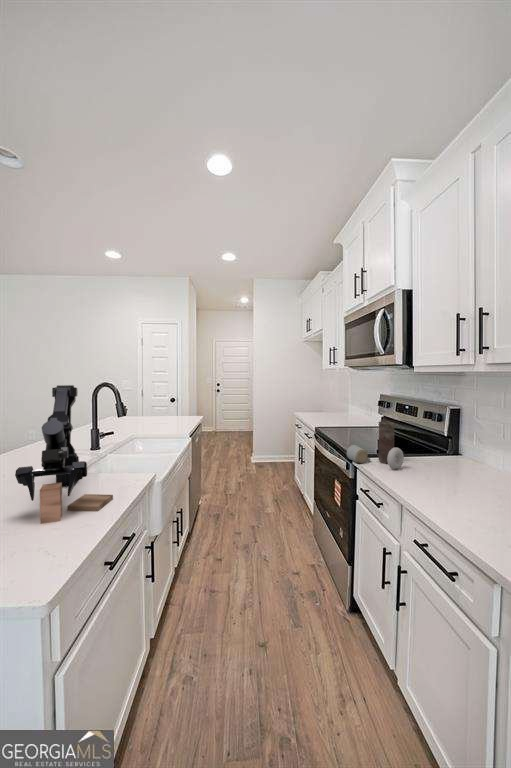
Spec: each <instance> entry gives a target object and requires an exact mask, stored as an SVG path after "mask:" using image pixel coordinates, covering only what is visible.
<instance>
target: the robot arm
mask: <svg viewBox="0 0 511 768" xmlns="http://www.w3.org/2000/svg"><path fill="white" fill-rule="evenodd" d="M51 393H52V396H51V397H53V398H54V405H53V412H52V414H51V415H49V416H48V417H47V420H46V422H44V423H43V424H42V426H41V432H42V433H41V434H42V436H43V441H44V443H45V450H44V449H43V450H41V461H40V462H41V468H42V469H35V470H34V468H33V465H29V466H20V467H18V468H17V469H16V470H15V474H14V476H15V478H16V481H17V484H19V485H22V486H25V487H27V488H28V492H29V496H30V501H32V502H33V501H34V499H35V485H36V484H35V478H37V477H47V476H48V477H49V476H55V483H61V482H62V487H68V488H67V497H70V496H71V493H72V491H73V490H74V488H75V486H76V485H77V484H78V482H79V481H81V480H83V478H86V477H87V476H88V463H87V462H86V461H85V460H82V461H80V459H79V458H80V457H79V456H78V454H77V453H76V448H74V446H73V444H72V442H71V439H72V437H71V435H72V434H71V433H72V431H73V430H74V429H73V428H74V426H73V425H72V407H73V406H74V404H75V403H76V399H77V398H76V397H78V387H75V385H73V384H72V385H71V384H69V385H63V384H62V385H59V384H58V385H56V387H52V390H51Z"/></svg>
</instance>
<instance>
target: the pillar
mask: <svg viewBox="0 0 511 768" xmlns="http://www.w3.org/2000/svg"><path fill="white" fill-rule="evenodd" d="M62 516H63V486H62V482H61V483H56V482H53V483H46V484H45V483H44V484H42V485H41V487H40V488H39V524H41V525H42V524H49V523H56V522H61V520H62V518H63V517H62Z"/></svg>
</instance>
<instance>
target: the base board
mask: <svg viewBox="0 0 511 768" xmlns="http://www.w3.org/2000/svg"><path fill="white" fill-rule="evenodd" d="M113 499H114V495H113V494H98V493H97V494H93V493H91V494H90V493H85V494H83V495H82V496H80V497H78V498H77V499H76V500H74V501H72V502H71V503H69V504H68V505H67V506H66V510H67V511H74V512H76V511H77V512H78V511H80V512H81V511H82V512H99V511H100V510H101V509H102V508H104V507H105V506H107V505H108V504H109V503H110V502H112V500H113Z"/></svg>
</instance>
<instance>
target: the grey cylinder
mask: <svg viewBox="0 0 511 768" xmlns="http://www.w3.org/2000/svg"><path fill="white" fill-rule="evenodd" d="M368 456H369V454H368V452H367V451H366V450H365V449H364V448H362V447H360V446H358V445H356V444H352V445H349V447H348V448H347V449H346V457H347V458H348V459H349V460H351V461H353V462H355V463H357V464H364V463H365V462H366V461H367V462H371V458H369V457H368Z"/></svg>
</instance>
